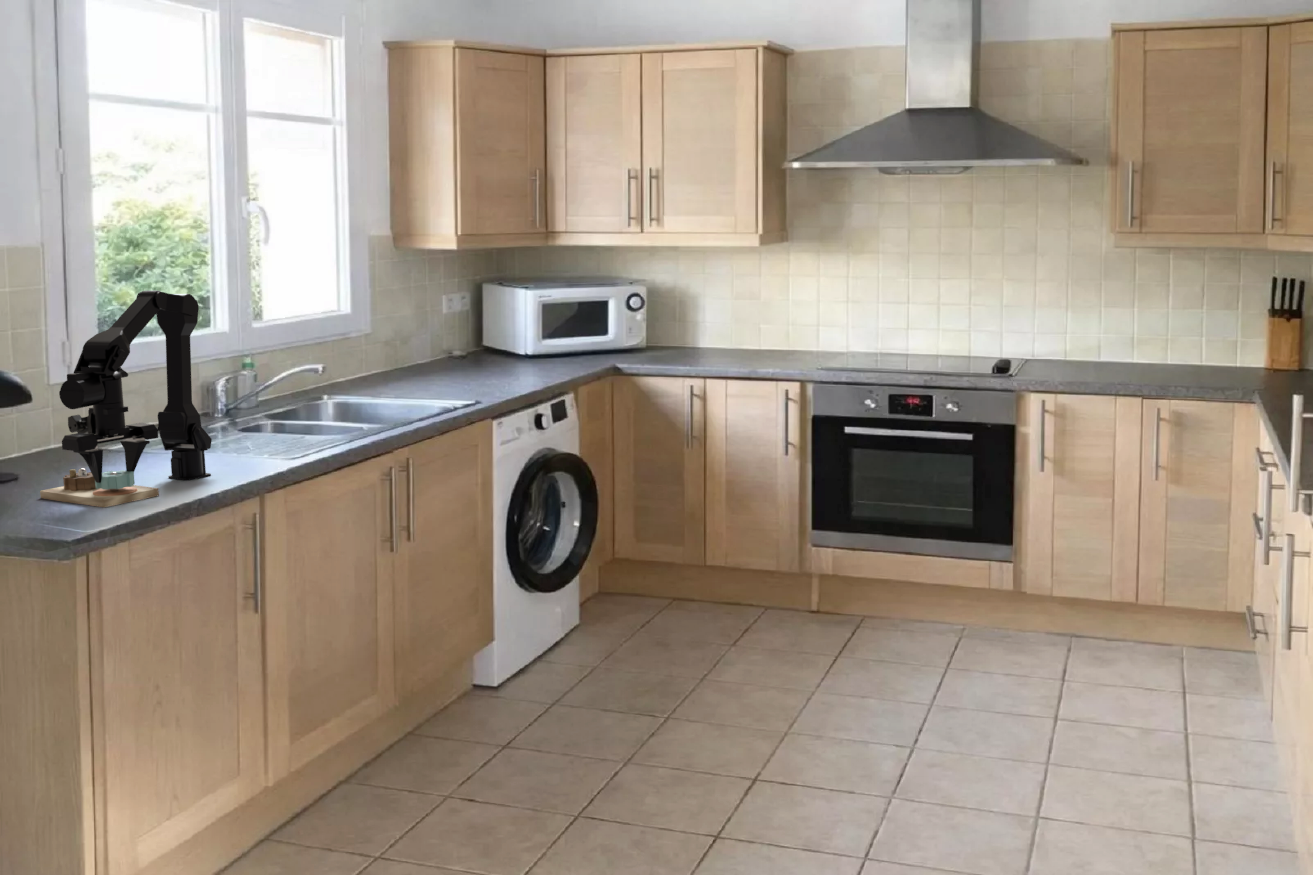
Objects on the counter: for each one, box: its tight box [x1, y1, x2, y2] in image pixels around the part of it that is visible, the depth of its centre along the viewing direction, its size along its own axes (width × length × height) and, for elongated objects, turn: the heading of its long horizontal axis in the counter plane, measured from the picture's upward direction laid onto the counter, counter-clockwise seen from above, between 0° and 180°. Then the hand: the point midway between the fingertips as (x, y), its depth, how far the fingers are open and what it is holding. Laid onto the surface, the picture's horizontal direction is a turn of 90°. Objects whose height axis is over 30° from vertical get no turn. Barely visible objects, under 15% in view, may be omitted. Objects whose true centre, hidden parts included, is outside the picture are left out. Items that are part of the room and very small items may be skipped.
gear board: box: [39, 484, 160, 508], centre depth 290 cm, size 13×20×2 cm, turn 58°
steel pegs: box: [77, 467, 119, 491], centre depth 290 cm, size 2×12×4 cm, turn 58°
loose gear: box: [95, 469, 135, 490], centre depth 287 cm, size 7×7×2 cm
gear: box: [62, 468, 96, 491], centre depth 293 cm, size 7×7×4 cm
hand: (114, 479), depth 287 cm, fingers closed on loose gear, 7 cm apart
